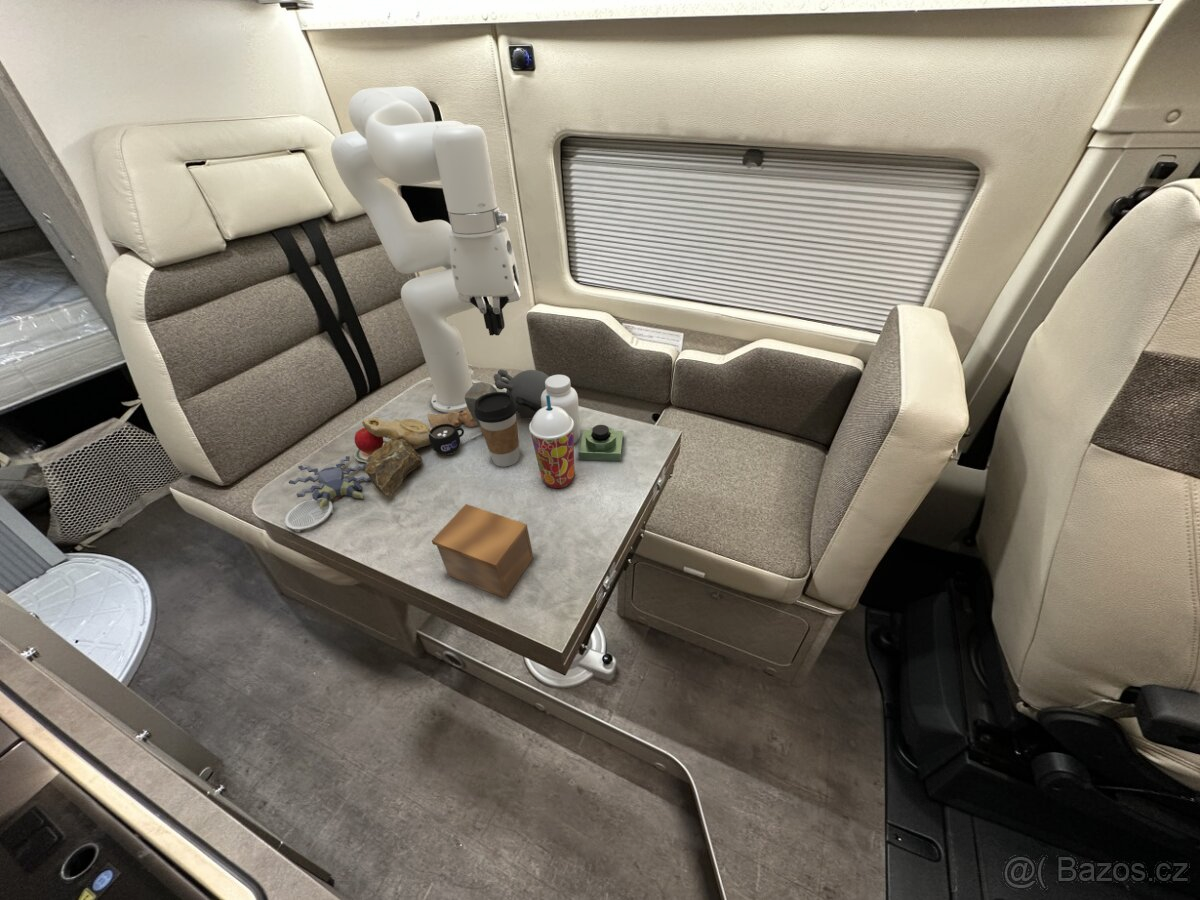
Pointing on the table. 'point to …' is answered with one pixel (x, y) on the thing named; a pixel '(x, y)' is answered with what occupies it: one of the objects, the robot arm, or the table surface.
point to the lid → (480, 535)
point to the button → (600, 432)
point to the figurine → (452, 419)
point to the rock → (391, 465)
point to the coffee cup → (499, 426)
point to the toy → (332, 483)
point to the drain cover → (319, 518)
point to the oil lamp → (400, 430)
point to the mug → (446, 438)
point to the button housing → (601, 446)
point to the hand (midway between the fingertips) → (496, 332)
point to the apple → (367, 444)
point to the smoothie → (553, 444)
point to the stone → (477, 396)
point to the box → (491, 568)
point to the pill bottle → (563, 399)
